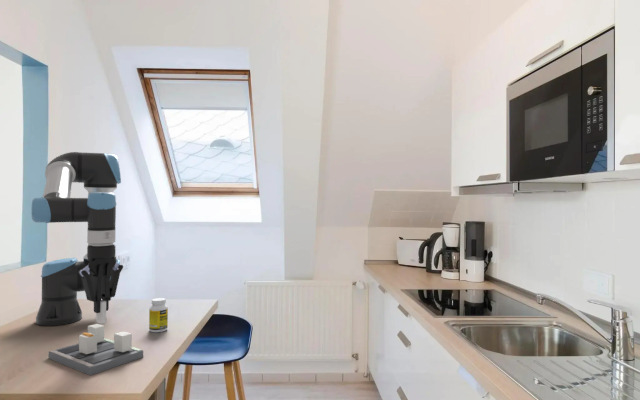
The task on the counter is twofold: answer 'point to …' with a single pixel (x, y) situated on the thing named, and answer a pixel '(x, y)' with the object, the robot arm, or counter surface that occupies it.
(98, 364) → the panel
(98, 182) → the robot arm
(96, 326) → the breaker far
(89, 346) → the breaker mid
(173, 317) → the counter surface
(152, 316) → the pill bottle
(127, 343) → the block
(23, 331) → the counter surface
